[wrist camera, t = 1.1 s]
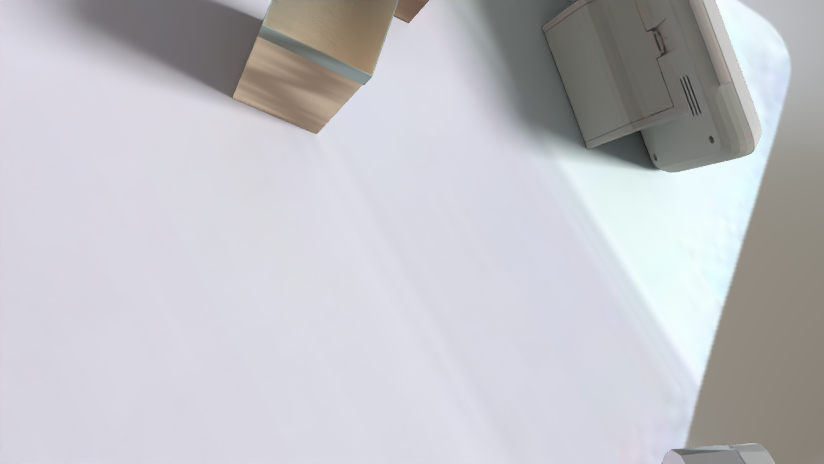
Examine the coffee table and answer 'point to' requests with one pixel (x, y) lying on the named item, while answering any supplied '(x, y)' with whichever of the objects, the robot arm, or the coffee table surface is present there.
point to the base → (408, 9)
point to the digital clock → (655, 79)
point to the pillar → (313, 57)
